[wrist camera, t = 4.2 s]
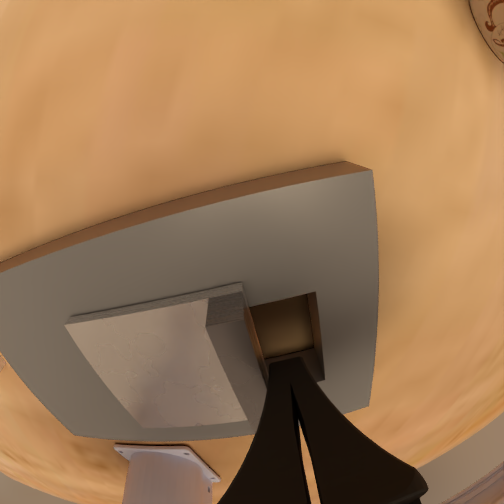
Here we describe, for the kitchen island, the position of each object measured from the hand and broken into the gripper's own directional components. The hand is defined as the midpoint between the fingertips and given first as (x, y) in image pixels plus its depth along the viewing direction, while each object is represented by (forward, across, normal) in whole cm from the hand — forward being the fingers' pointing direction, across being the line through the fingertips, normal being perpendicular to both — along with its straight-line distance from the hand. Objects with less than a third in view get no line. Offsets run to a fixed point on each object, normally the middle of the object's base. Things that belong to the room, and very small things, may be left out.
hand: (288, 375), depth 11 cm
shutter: (+1, +5, 0) cm, 5 cm away
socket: (+4, +7, 0) cm, 8 cm away
